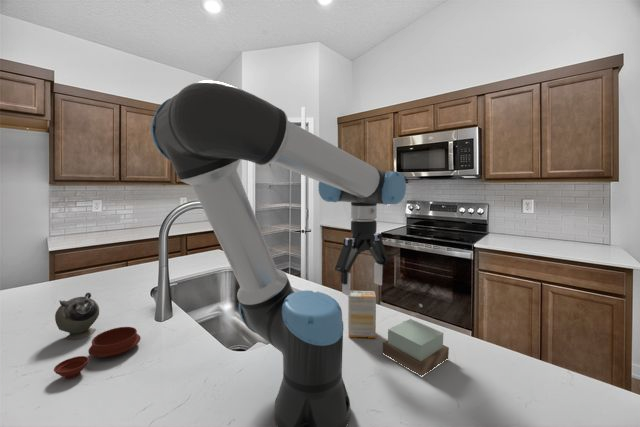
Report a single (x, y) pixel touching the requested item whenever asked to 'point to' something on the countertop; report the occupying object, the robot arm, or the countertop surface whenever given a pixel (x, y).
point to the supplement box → (362, 314)
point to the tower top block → (415, 339)
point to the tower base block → (413, 363)
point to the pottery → (100, 350)
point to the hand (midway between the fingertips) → (362, 289)
